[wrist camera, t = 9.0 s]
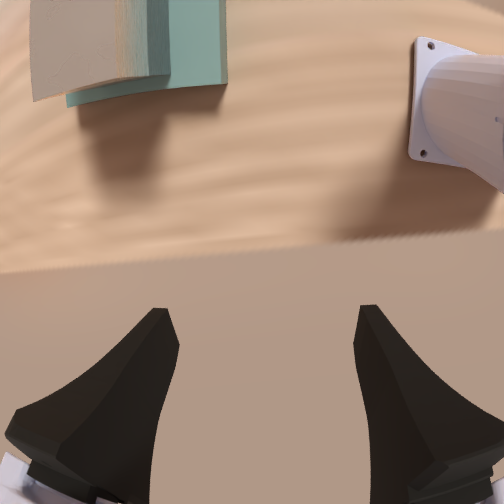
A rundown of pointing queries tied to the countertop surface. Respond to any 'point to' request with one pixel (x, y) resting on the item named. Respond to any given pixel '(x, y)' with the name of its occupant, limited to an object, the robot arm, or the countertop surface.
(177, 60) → the stand
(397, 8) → the countertop surface
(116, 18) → the block
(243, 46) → the countertop surface
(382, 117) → the countertop surface
